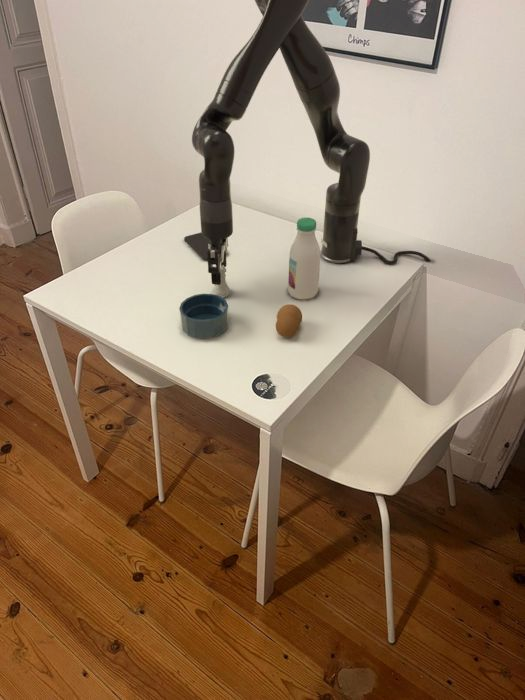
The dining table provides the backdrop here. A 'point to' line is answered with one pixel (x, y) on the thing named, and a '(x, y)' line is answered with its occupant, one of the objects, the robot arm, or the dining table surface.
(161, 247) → the dining table surface
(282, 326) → the potato
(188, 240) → the phone
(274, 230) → the dining table surface
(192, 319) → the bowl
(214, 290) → the rook chess piece
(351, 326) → the dining table surface
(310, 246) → the milk bottle
